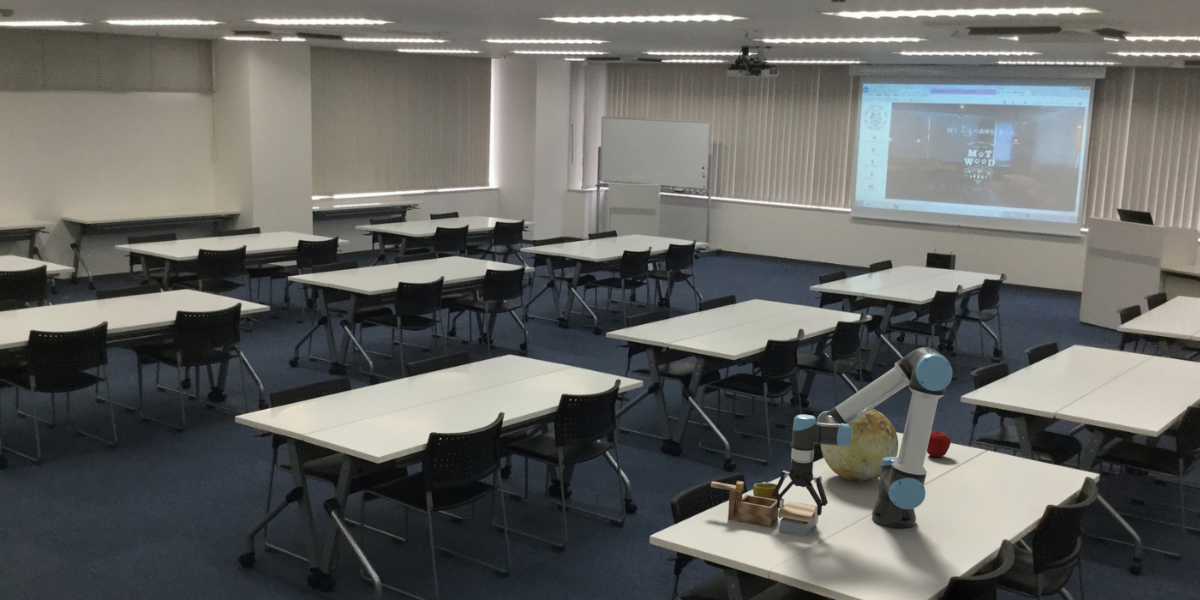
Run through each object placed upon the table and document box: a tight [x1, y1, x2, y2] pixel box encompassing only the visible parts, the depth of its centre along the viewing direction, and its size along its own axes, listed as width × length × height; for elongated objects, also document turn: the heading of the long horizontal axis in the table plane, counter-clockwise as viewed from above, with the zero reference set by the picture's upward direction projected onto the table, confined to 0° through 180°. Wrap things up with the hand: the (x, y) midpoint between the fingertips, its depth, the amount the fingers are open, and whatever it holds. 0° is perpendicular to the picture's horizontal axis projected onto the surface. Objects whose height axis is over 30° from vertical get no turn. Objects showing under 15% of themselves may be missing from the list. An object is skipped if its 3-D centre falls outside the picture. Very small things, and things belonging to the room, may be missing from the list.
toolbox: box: [727, 480, 779, 528], centre depth 367 cm, size 16×9×12 cm, turn 64°
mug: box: [752, 481, 780, 500], centre depth 382 cm, size 12×10×10 cm
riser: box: [779, 517, 816, 538], centre depth 360 cm, size 9×14×4 cm, turn 154°
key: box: [710, 480, 745, 493], centre depth 370 cm, size 12×3×3 cm, turn 64°
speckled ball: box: [820, 408, 899, 483], centre depth 414 cm, size 30×30×30 cm
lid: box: [778, 500, 816, 523], centre depth 360 cm, size 12×11×3 cm
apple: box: [926, 430, 952, 458], centre depth 451 cm, size 11×11×12 cm
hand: (798, 520), depth 360 cm, fingers open, 12 cm apart
